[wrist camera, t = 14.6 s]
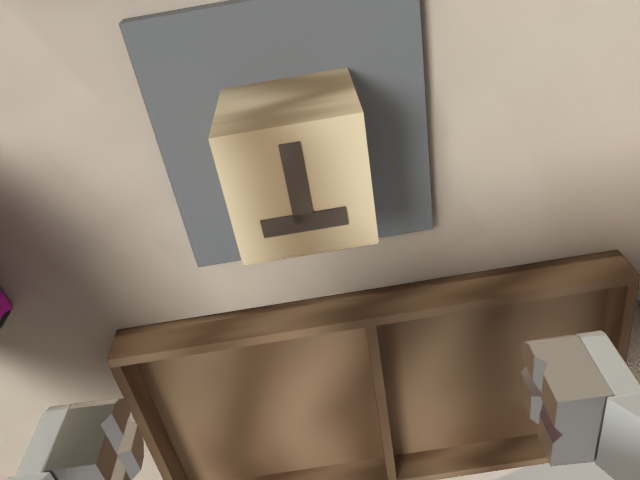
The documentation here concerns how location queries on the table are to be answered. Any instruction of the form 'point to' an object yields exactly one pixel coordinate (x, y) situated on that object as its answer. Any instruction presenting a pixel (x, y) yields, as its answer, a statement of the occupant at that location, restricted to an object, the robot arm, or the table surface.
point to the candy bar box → (4, 308)
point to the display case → (638, 297)
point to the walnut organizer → (365, 375)
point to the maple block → (294, 166)
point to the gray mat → (276, 63)
